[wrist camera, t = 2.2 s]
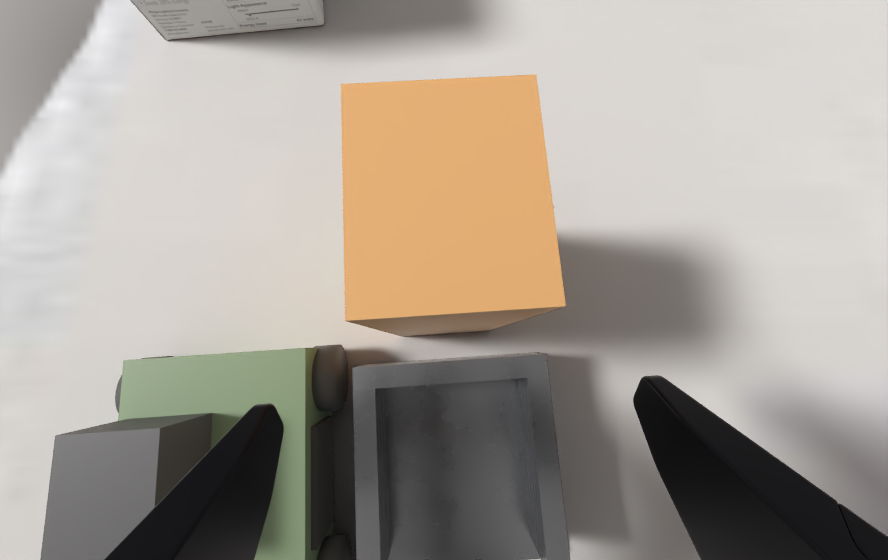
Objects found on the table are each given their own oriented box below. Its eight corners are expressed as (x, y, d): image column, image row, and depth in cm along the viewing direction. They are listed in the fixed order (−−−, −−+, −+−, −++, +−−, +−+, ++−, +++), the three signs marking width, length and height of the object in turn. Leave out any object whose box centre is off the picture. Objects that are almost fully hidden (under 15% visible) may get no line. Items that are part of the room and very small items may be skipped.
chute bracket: (559, 551, 18) (586, 597, 15) (363, 567, 18) (345, 619, 15) (536, 352, 20) (556, 353, 17) (358, 364, 20) (341, 368, 17)
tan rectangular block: (489, 330, 21) (565, 306, 8) (401, 336, 20) (345, 321, 8) (480, 229, 22) (536, 74, 9) (397, 234, 21) (340, 84, 9)
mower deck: (352, 592, 18) (299, 744, 11) (152, 609, 18) (-30, 777, 11) (347, 344, 20) (300, 343, 13) (169, 356, 20) (27, 362, 13)
